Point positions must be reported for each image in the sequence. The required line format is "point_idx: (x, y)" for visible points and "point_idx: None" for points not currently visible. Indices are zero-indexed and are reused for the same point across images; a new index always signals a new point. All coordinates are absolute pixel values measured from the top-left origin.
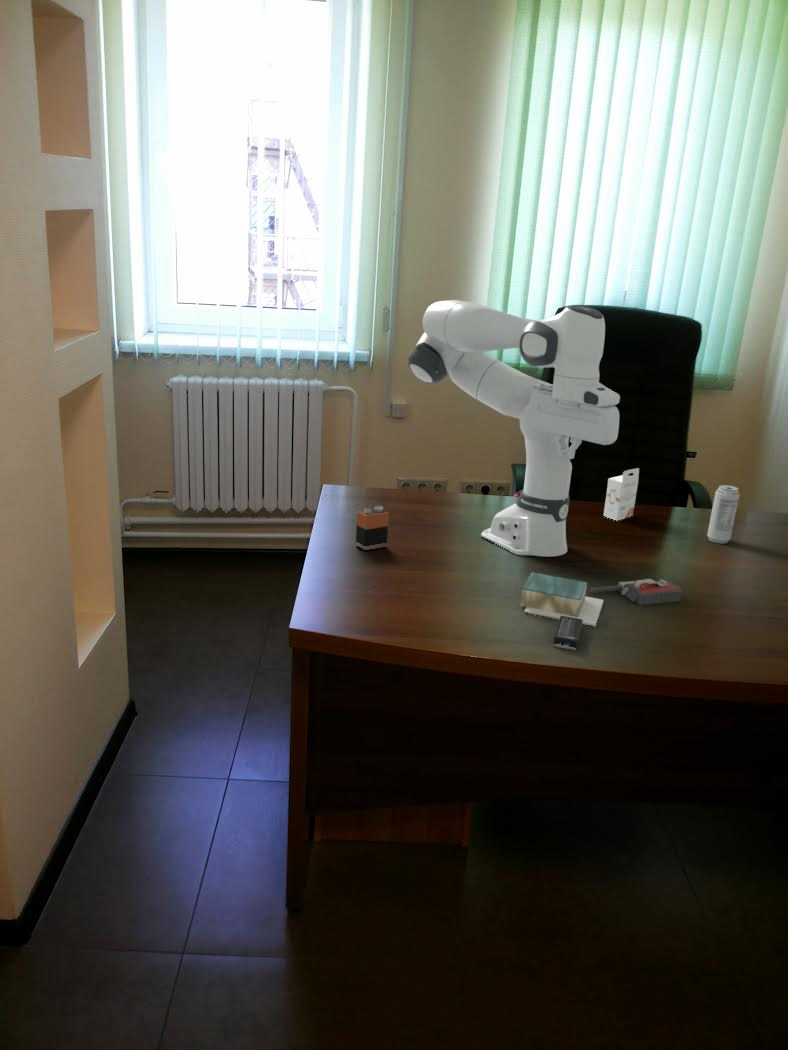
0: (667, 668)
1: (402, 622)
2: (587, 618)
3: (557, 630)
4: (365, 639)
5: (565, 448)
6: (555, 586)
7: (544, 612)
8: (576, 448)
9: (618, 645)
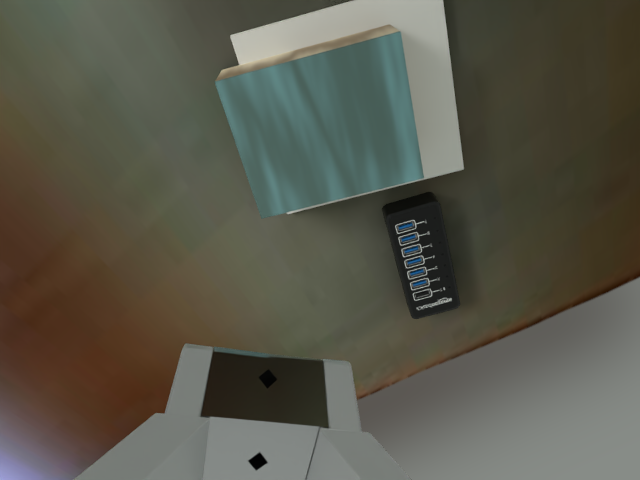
0: (637, 245)
1: (129, 401)
2: (435, 149)
3: (407, 290)
4: None
5: (231, 457)
6: (330, 142)
7: None
8: (383, 462)
9: (529, 216)
